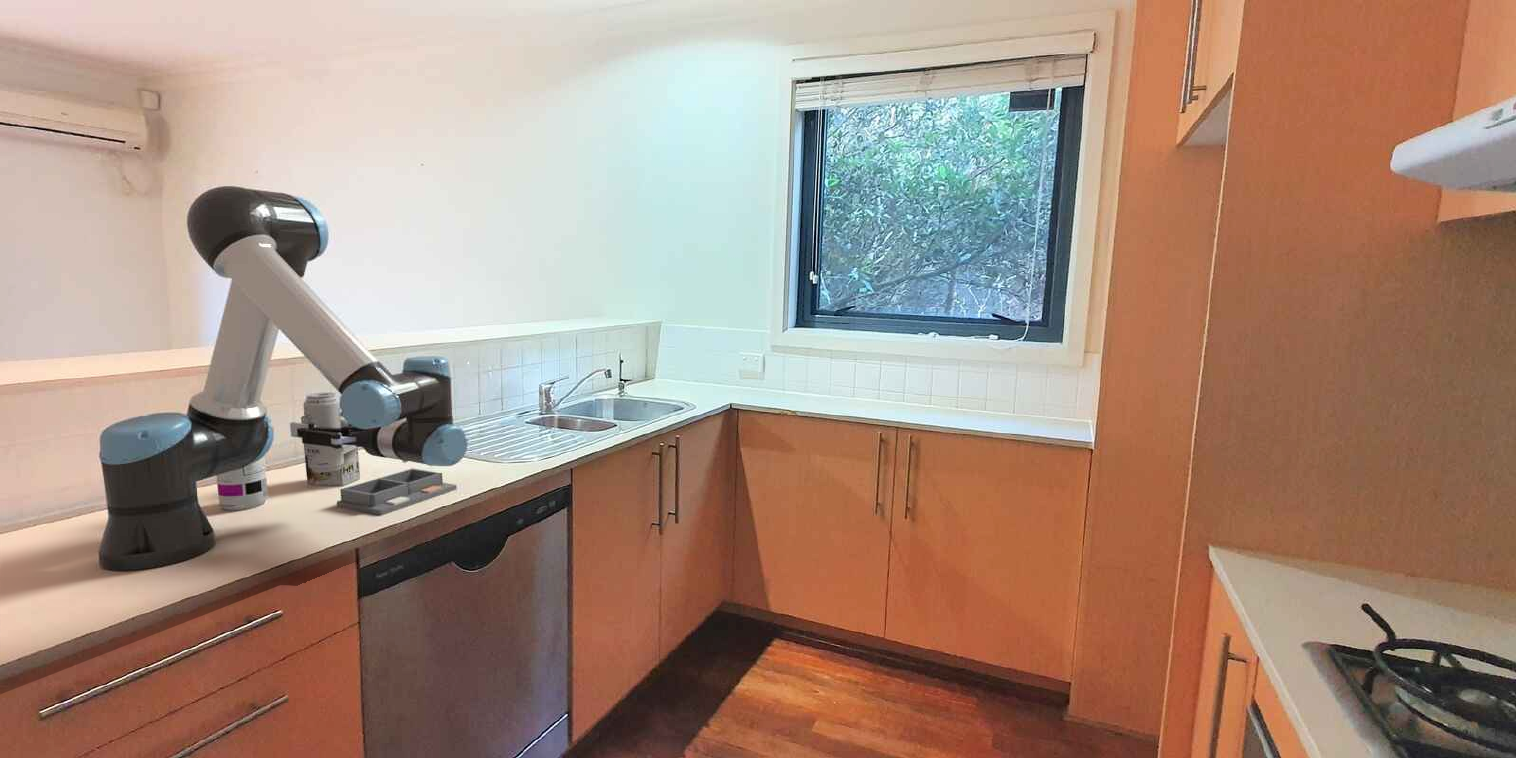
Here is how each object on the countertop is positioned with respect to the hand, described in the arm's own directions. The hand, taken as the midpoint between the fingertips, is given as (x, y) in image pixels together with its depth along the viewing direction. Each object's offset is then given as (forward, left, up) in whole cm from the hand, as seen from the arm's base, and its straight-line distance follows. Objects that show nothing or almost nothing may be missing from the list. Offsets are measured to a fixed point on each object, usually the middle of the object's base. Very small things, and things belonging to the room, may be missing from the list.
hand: (309, 426), depth 139 cm
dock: (+14, -7, -18) cm, 24 cm away
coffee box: (+16, +17, -18) cm, 29 cm away
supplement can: (-3, +18, -18) cm, 26 cm away
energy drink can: (0, -4, -9) cm, 9 cm away
